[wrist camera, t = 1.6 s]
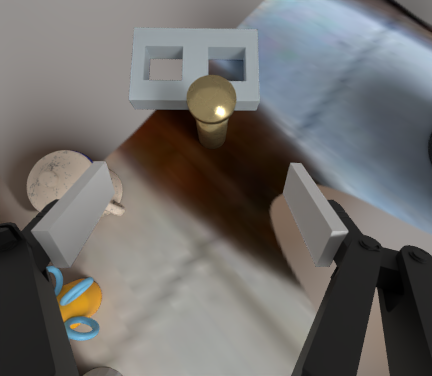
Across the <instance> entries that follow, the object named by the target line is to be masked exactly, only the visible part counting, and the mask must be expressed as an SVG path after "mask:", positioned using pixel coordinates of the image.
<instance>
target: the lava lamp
mask: <svg viewBox="0 0 432 376" xmlns="http://www.w3.org/2000/svg"><path fill="white" fill-rule="evenodd" d="M83 376H122V375H121V374H120V373H119V372H118V371H116V370H114V369H111V368H106V367H99V368H96V369H92V370H90V371H89V372H87V373H86V374H84V375H83Z"/></svg>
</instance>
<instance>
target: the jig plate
mask: <svg viewBox="0 0 432 376" xmlns="http://www.w3.org/2000/svg"><path fill="white" fill-rule="evenodd" d="M150 59H183V65H182V80H179V81H178V80H177V81H176V80H149V72H150ZM209 60H243V72H244V81H229V82H230V83H231V84H232V85H233V87H234V89H235V91H236V97H237V99H236V105H235V109H234V110H257V107H258V104H259V102H260V95H259V62H258V29H203V28H197V29H196V28H195V29H194V28H138V27H135V28H134V38H133V51H132V63H131V77H130V89H129V101H130V102H131V104H132V105H133V107H134V108H135V109H167V110H189V109H188V105H187V98H186V97H187V91H188V89H189V87H190V85H191V84H192V83H193V82H194V81H195V80H196V79H198V78H200V77H202V76H206V75H208V61H209Z"/></svg>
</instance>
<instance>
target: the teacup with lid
mask: <svg viewBox="0 0 432 376" xmlns="http://www.w3.org/2000/svg"><path fill="white" fill-rule="evenodd" d="M93 162H94V161H92V160H91V159H90V158H89V157H88V156H86V155H84V154H83V153H80V152H77V151H73V150H61V151H56V152H53V153H50V154H48V155H46V156H44V157H43V158H41V159H40V160H39V161H38V162H37V163H36V164H35V165H34V167H33V168H32V170H31V172H30V174H29V177H28V180H27V194H28V197H29V199H30V201H31V203H32V205H33V206H34V207H35V208H36V209H37V210H38V211H40V212H41V210H42V209H43V208H44V207H45V206H46V205H47V204H49V203H50V202H52V201H54V200H55V199H60V198H61V197H62V196H63V195H64V194H65V193H66V192H67V191H68V190H69V189H70V187H71V186H72V185H73V184H74V183H75V182H76V181H77V180H78V179H79V178H80V177H81V175H82V174H83V173H84V172H85V171H86V170H87V169H88V168H89V167H90V166H91V164H92V163H93ZM108 171H109V174H110V177H111V181H112V184H113V187H114V190H115V194H114V196H113V197H112V199H111V201H110V202H109V204H108V206H107V207H106V209H105V211H104V212H103V214H102V216H101V217H103V216H106V215H108V214H110V213H112V214H114V215H122V214H123V213H124V212H125V208H124V206H123V205H121V204H120V201H121V198H122V191H123V190H122V184H121V181H120V179H119V177H118V176H117V175H116V174H115V173H114V172H113V171H111V170H109V169H108Z"/></svg>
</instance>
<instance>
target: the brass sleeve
mask: <svg viewBox="0 0 432 376" xmlns="http://www.w3.org/2000/svg"><path fill="white" fill-rule="evenodd" d="M186 98H187V105H188V109H189V111H190V113H191V115H192V116H193V117H194V118H195V119H196V125H197V131H198V136H199V141H200V143H201V144H202V145H203V146H204V147H206V148H208V149H216V148H218V147H220V146H221V145H222V144H223V143H224V141H225V138H226V130H227V123H228V118H229V117H230V116H231V115H232V114H233V112H234V109H235V105H236V99H237V97H236V91H235V89H234V87H233V85H232V84H231V83H230V82H229V81H228V80H226V79H225V78H223V77H221V76H217V75H206V76H202V77H200V78H198V79H196V80H195V81H194V82H193V83H192V84H191V85H190V87H189V89H188V91H187V97H186Z"/></svg>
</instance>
